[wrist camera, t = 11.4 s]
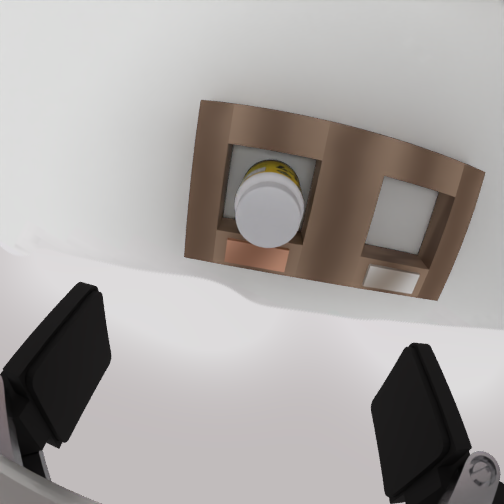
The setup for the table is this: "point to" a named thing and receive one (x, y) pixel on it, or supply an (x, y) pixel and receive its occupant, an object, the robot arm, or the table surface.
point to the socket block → (329, 201)
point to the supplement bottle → (269, 204)
